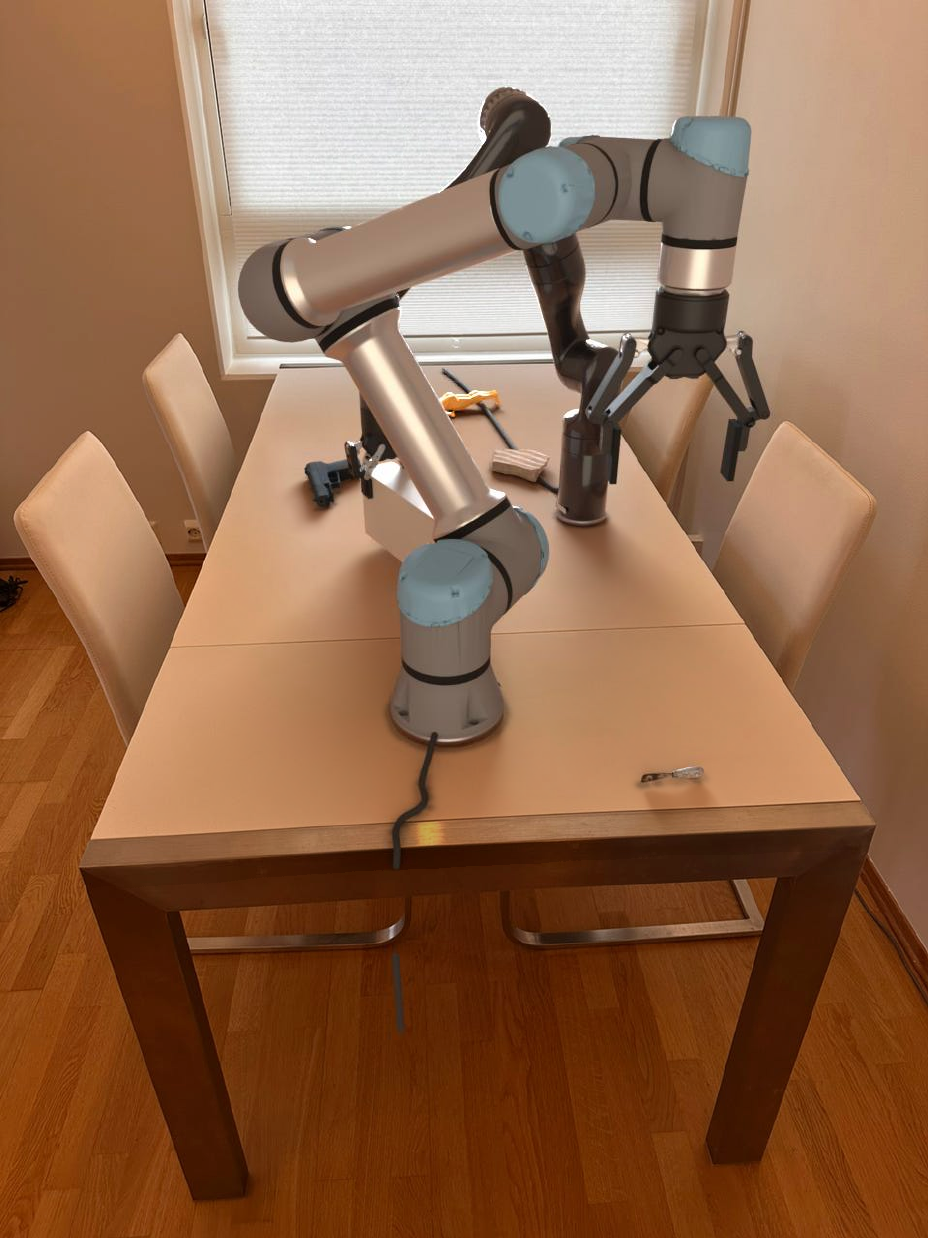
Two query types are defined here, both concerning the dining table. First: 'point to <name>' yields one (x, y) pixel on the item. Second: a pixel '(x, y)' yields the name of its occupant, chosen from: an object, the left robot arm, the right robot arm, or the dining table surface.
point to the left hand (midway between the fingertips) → (669, 478)
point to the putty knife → (674, 774)
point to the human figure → (466, 400)
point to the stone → (519, 462)
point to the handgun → (327, 479)
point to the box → (397, 512)
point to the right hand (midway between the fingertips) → (386, 493)
